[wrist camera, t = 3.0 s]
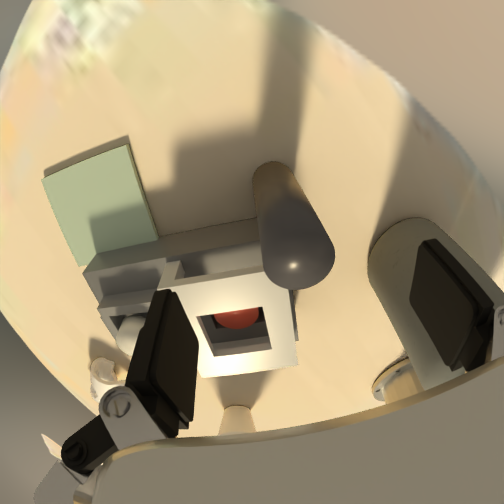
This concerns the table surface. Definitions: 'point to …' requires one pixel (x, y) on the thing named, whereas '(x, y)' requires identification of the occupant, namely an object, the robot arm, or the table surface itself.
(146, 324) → the robot arm
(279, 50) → the table surface
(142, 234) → the mat
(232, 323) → the breaker button
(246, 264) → the grey push-button box
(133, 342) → the on button
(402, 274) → the water bottle
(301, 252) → the stylus
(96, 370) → the plastic part
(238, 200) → the table surface
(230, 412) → the soft serve ice cream cone
